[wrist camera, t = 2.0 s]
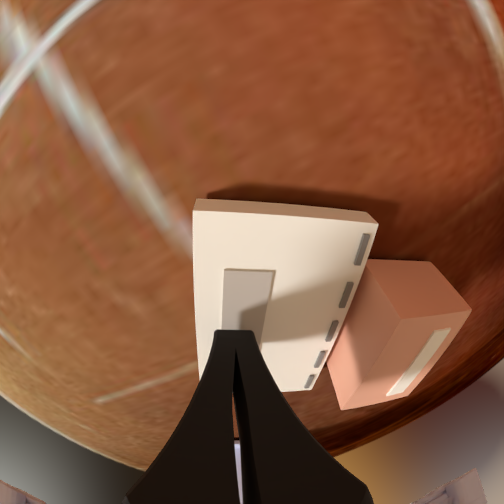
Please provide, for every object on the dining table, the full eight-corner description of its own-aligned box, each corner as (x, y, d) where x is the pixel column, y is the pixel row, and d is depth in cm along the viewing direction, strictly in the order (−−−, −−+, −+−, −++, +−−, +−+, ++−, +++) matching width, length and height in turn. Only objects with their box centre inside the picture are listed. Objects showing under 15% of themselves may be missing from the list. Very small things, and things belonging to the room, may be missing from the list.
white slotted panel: (307, 375, 15) (311, 391, 14) (201, 376, 14) (200, 393, 13) (366, 211, 9) (380, 225, 8) (196, 198, 9) (192, 212, 8)
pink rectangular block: (385, 347, 14) (408, 396, 11) (323, 354, 14) (341, 412, 10) (430, 261, 11) (473, 311, 8) (361, 258, 10) (402, 321, 7)
